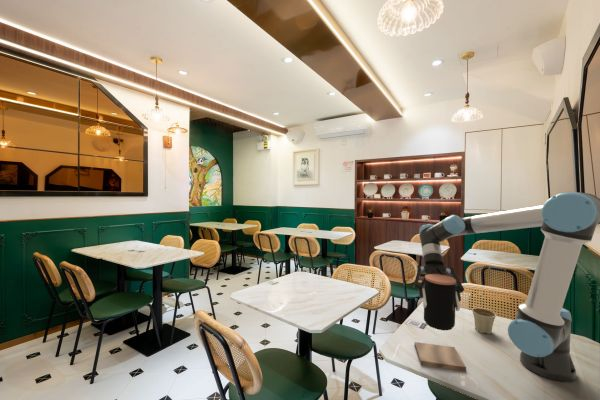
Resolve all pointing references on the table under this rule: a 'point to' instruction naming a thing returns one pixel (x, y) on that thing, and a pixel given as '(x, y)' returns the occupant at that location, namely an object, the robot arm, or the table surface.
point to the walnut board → (439, 356)
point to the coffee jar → (440, 301)
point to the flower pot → (483, 320)
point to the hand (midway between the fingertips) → (441, 307)
